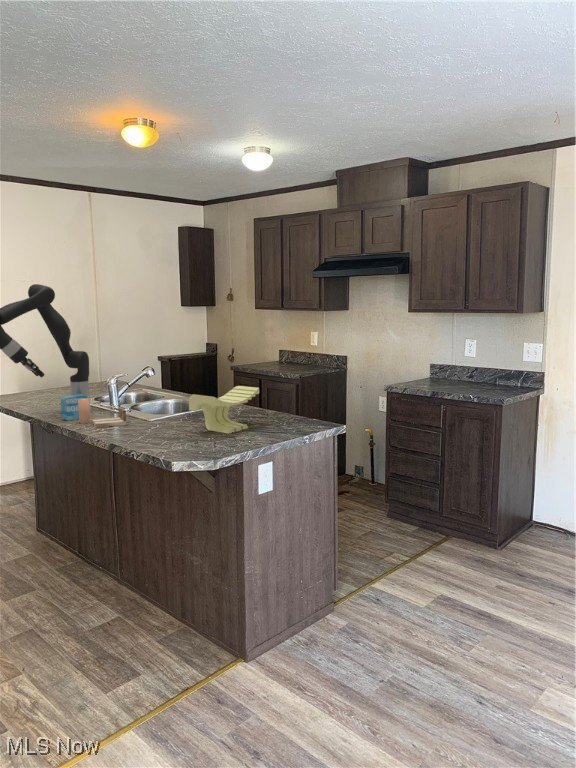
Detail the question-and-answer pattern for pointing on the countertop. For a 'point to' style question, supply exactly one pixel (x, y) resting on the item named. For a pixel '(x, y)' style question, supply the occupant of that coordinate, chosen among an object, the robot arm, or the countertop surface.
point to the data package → (70, 407)
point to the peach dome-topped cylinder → (84, 410)
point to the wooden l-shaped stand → (112, 420)
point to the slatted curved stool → (222, 408)
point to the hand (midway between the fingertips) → (41, 375)
